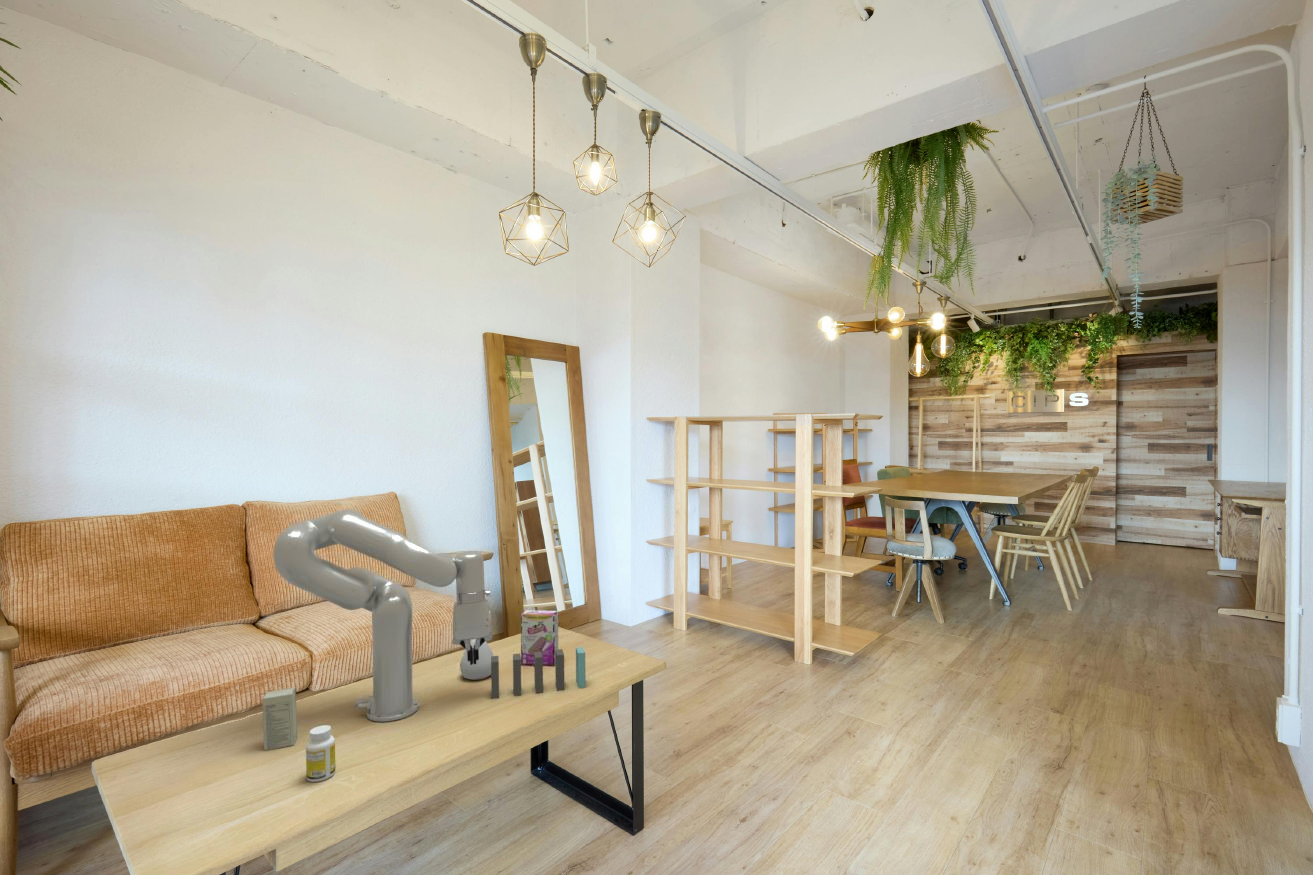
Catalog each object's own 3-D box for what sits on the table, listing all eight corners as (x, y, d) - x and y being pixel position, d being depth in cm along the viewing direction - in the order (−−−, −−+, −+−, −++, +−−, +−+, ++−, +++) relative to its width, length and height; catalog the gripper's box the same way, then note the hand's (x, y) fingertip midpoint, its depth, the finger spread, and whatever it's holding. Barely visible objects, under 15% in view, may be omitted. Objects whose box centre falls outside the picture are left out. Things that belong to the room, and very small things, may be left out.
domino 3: (535, 693, 168) (535, 657, 168) (534, 686, 173) (534, 651, 173) (543, 692, 169) (542, 656, 169) (541, 685, 174) (541, 651, 174)
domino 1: (491, 698, 165) (491, 662, 165) (491, 691, 170) (491, 656, 170) (499, 697, 166) (498, 661, 166) (498, 690, 170) (498, 655, 171)
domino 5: (578, 688, 172) (578, 653, 172) (576, 681, 176) (575, 647, 176) (585, 687, 172) (585, 652, 172) (582, 680, 177) (582, 646, 177)
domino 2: (513, 696, 167) (513, 659, 167) (513, 689, 172) (512, 654, 172) (521, 695, 167) (520, 659, 167) (520, 688, 172) (520, 653, 172)
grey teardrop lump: (456, 673, 184) (456, 634, 184) (491, 667, 189) (490, 629, 189) (463, 685, 175) (462, 644, 175) (499, 678, 180) (498, 638, 180)
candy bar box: (520, 665, 190) (519, 613, 190) (525, 660, 195) (524, 609, 195) (555, 666, 189) (554, 614, 189) (559, 660, 194) (558, 609, 194)
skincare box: (297, 737, 144) (297, 686, 145) (294, 745, 140) (293, 693, 141) (266, 742, 142) (266, 690, 142) (262, 751, 138) (261, 697, 138)
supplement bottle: (327, 766, 131) (327, 721, 131) (340, 773, 128) (340, 727, 128) (301, 777, 127) (301, 730, 127) (314, 785, 124) (313, 737, 124)
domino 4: (557, 690, 170) (557, 655, 170) (555, 684, 175) (555, 649, 175) (564, 689, 170) (564, 654, 171) (562, 683, 175) (562, 648, 175)
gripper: (498, 590, 172) (500, 654, 172) (443, 596, 168) (445, 661, 168) (498, 597, 165) (501, 663, 165) (441, 603, 161) (443, 671, 161)
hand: (473, 662), depth 167 cm, fingers closed
